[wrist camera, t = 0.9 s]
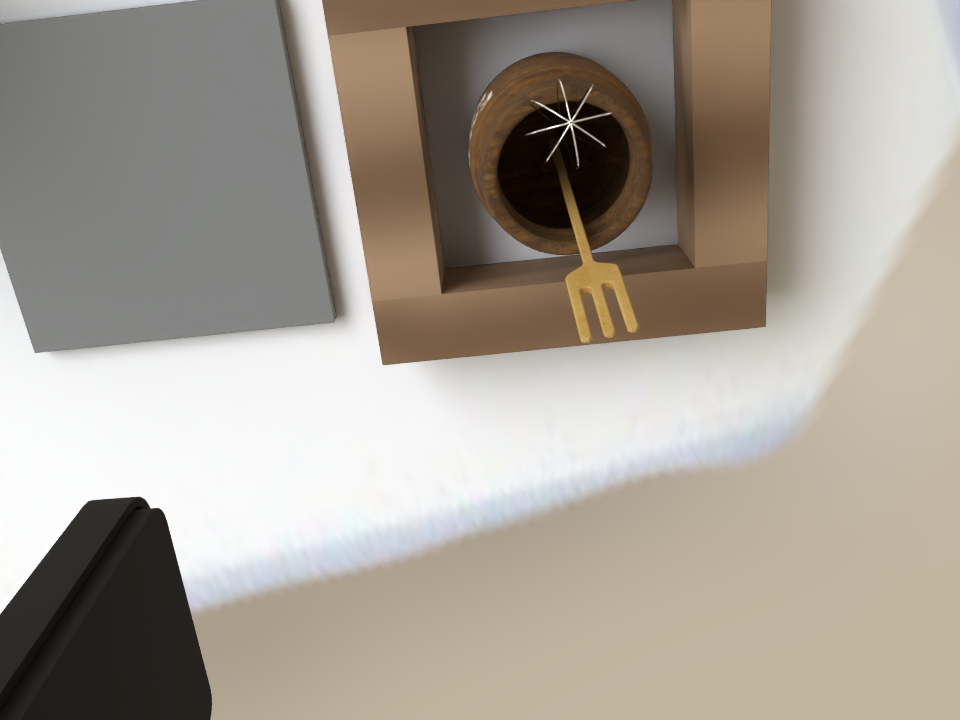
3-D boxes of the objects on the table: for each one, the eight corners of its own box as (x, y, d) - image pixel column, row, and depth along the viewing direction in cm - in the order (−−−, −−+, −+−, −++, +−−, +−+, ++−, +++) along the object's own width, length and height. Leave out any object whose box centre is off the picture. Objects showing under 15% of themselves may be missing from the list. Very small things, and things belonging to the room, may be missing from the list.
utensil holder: (615, 28, 31) (687, 58, 20) (646, 201, 34) (725, 312, 23) (451, 71, 32) (435, 122, 21) (493, 238, 34) (498, 363, 23)
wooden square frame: (328, -48, 30) (313, -50, 28) (746, -99, 30) (773, -106, 27) (390, 335, 36) (382, 365, 33) (743, 299, 35) (765, 326, 33)
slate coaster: (-62, 31, 31) (-71, 32, 31) (276, -9, 31) (273, -9, 30) (41, 347, 36) (35, 352, 36) (336, 316, 36) (334, 322, 35)
